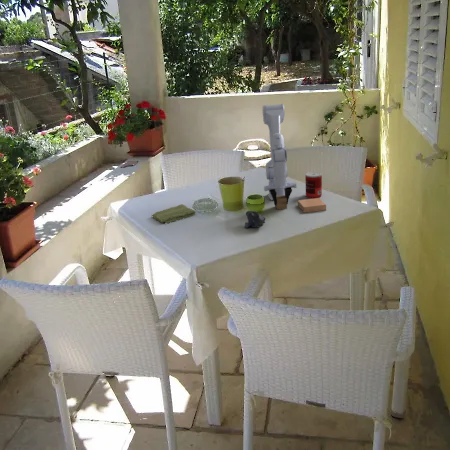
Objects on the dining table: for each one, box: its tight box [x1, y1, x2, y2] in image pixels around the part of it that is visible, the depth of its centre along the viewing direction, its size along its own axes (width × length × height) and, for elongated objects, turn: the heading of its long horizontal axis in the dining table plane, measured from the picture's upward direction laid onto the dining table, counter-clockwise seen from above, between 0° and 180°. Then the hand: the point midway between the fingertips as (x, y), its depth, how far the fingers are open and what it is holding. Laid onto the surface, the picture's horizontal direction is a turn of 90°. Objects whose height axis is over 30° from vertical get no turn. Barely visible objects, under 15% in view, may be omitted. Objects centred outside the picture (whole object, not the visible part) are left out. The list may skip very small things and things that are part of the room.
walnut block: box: [274, 195, 288, 211], centre depth 222 cm, size 4×4×5 cm
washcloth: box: [151, 204, 196, 224], centre depth 222 cm, size 13×18×3 cm
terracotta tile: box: [297, 197, 327, 214], centre depth 219 cm, size 10×10×2 cm
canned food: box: [304, 171, 323, 199], centre depth 233 cm, size 8×8×11 cm
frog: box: [244, 210, 266, 229], centre depth 202 cm, size 9×11×7 cm
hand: (280, 204), depth 222 cm, fingers closed on walnut block, 4 cm apart
